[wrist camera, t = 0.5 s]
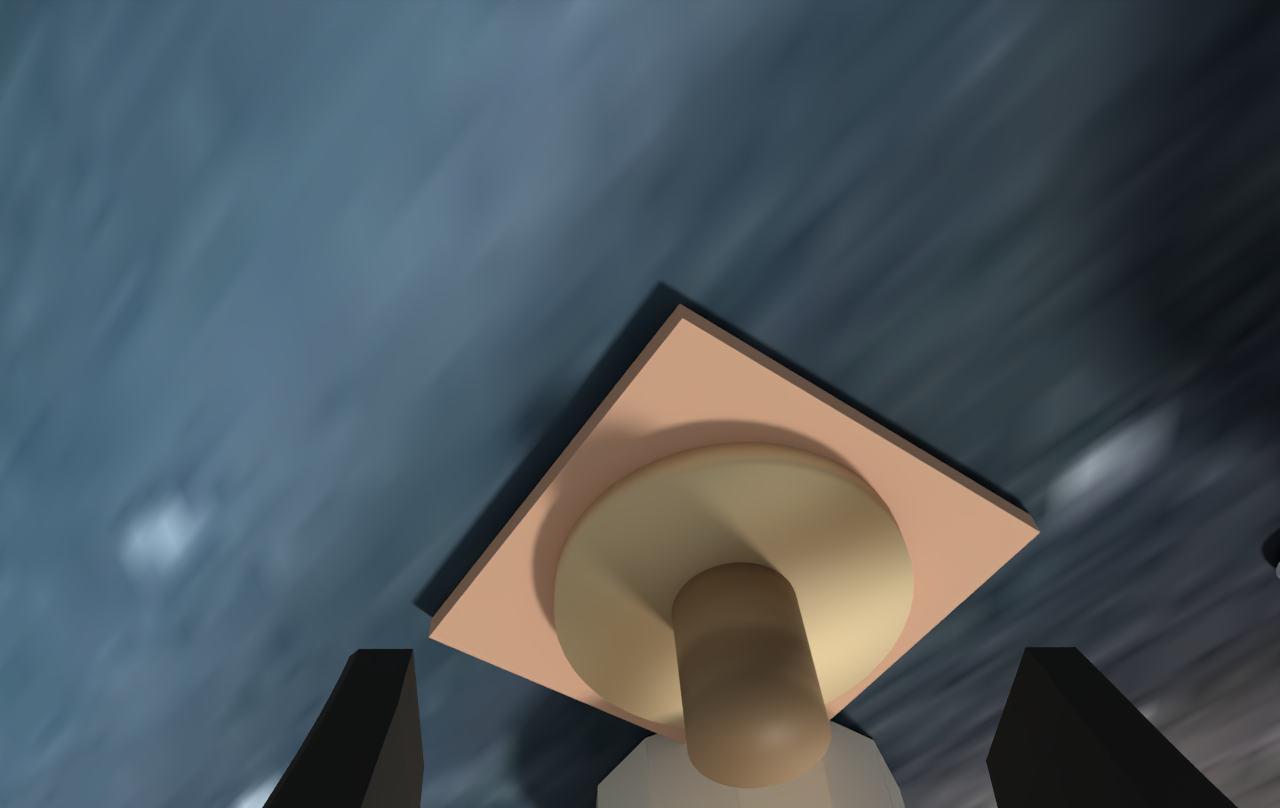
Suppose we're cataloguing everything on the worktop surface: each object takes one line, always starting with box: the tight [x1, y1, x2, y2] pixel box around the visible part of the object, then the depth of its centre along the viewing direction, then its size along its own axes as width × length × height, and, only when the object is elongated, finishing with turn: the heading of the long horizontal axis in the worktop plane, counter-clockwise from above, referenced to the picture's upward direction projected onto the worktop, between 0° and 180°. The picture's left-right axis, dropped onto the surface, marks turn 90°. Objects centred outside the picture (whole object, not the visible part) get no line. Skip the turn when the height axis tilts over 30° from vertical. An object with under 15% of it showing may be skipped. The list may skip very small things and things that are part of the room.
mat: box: [429, 304, 1040, 744], centre depth 24 cm, size 10×10×1 cm
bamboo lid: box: [554, 442, 914, 788], centre depth 22 cm, size 8×8×4 cm
